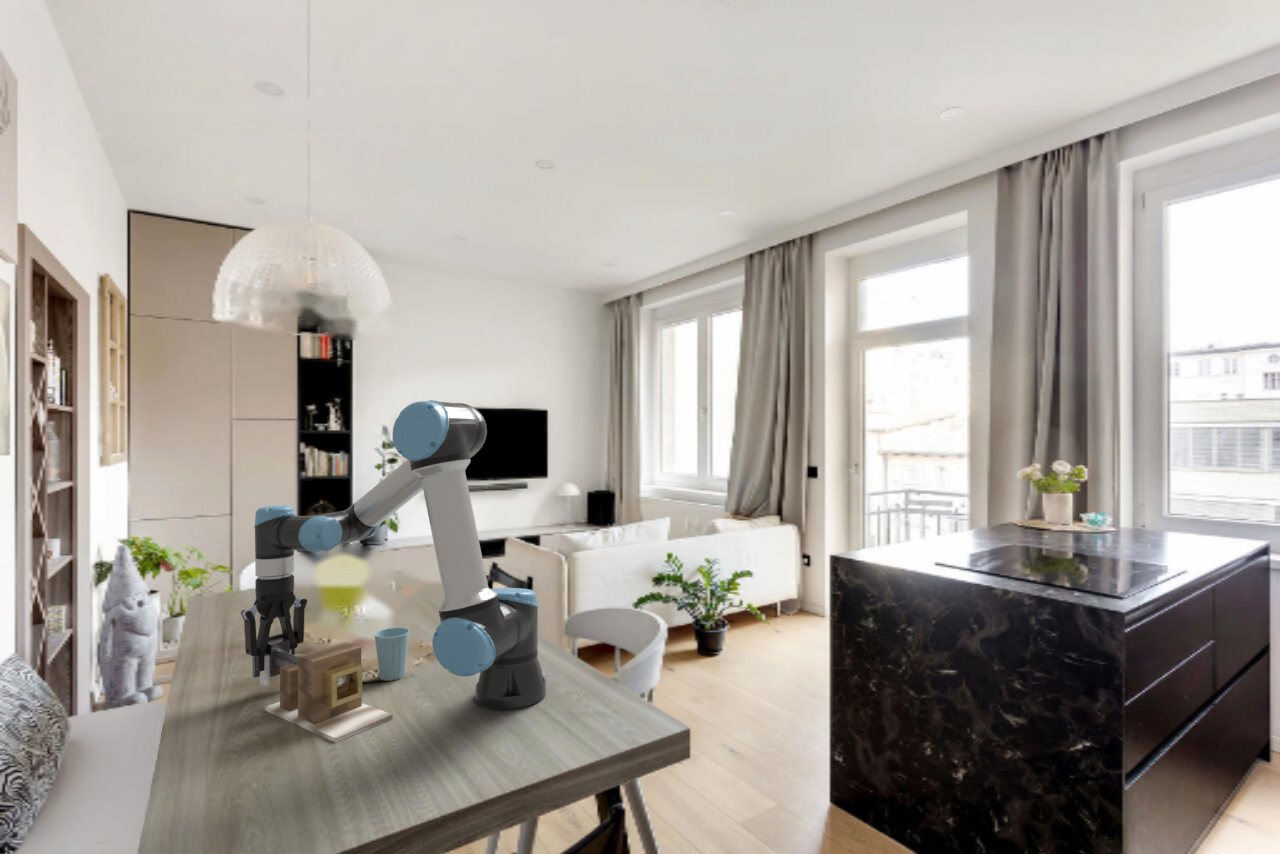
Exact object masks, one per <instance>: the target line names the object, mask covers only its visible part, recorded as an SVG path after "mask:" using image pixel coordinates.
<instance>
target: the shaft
mask: <svg viewBox="0 0 1280 854" xmlns="http://www.w3.org/2000/svg"><path fill="white" fill-rule="evenodd" d="M266 654H267V655H269V673H270V678H272V677H275V676H280V667H283V666H286V665H290V664H293V665H296V666H298V656H299V655H296V654H295V655H293V654H290V640H288V639H285V638H283V634H282V632H281V633H276V634H273V635H269V639H268V644H267V649H266ZM252 678H253V679H256V678H260V671H257V670H256V657H255V656H252ZM349 680H350V677H349V674H347V675H344V676H341V677H339V678H337V688H344V687H345V686H347V684H348V683H349Z"/></svg>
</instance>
